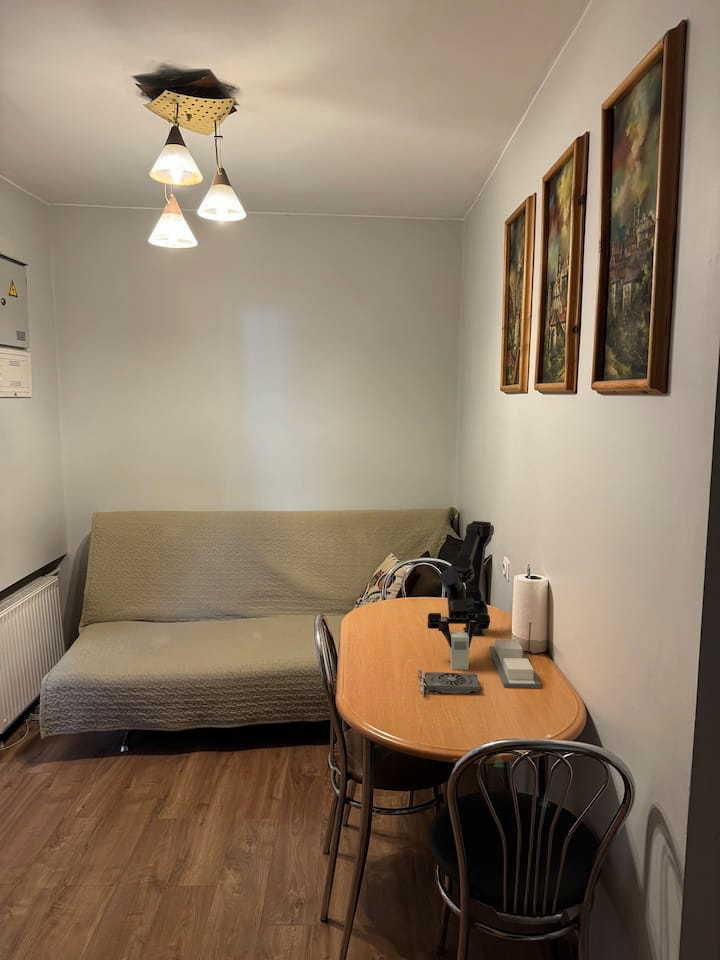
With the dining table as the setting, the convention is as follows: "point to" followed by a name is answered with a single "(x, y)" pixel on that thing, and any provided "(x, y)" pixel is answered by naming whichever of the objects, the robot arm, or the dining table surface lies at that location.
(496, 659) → the board
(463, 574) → the robot arm
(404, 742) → the dining table surface
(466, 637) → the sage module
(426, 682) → the graphics card
